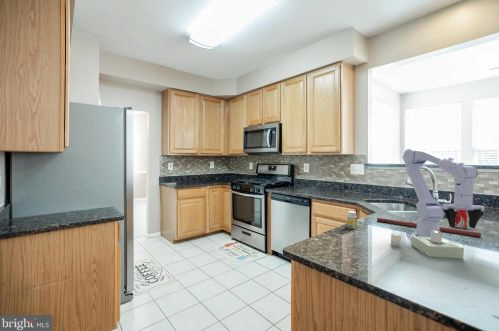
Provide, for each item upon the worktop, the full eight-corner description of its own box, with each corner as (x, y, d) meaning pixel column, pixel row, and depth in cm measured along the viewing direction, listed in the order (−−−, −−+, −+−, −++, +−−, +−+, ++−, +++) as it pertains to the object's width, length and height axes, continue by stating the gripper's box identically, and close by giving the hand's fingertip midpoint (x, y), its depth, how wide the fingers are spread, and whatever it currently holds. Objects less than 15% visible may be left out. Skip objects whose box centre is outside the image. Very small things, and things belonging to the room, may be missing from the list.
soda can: (466, 229, 130) (467, 207, 129) (449, 226, 135) (450, 205, 135) (468, 227, 134) (469, 206, 134) (451, 224, 140) (452, 204, 139)
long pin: (427, 249, 99) (428, 230, 99) (436, 249, 99) (437, 230, 99) (434, 252, 96) (435, 233, 96) (443, 253, 96) (444, 233, 96)
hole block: (411, 245, 104) (412, 236, 104) (441, 247, 103) (442, 237, 103) (428, 256, 92) (429, 246, 92) (463, 258, 91) (463, 248, 91)
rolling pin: (376, 222, 143) (377, 217, 143) (377, 221, 145) (377, 216, 145) (481, 238, 116) (481, 232, 116) (479, 237, 119) (480, 230, 118)
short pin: (389, 243, 106) (389, 233, 106) (398, 243, 106) (398, 233, 105) (393, 246, 102) (393, 235, 102) (402, 246, 102) (402, 236, 102)
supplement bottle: (354, 226, 133) (354, 210, 132) (358, 228, 128) (358, 212, 128) (345, 226, 132) (345, 210, 132) (349, 228, 128) (349, 212, 127)
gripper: (451, 195, 96) (449, 229, 97) (491, 196, 94) (489, 231, 95) (439, 192, 103) (438, 224, 104) (476, 194, 101) (475, 226, 102)
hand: (461, 227), depth 100 cm, fingers open, 7 cm apart
